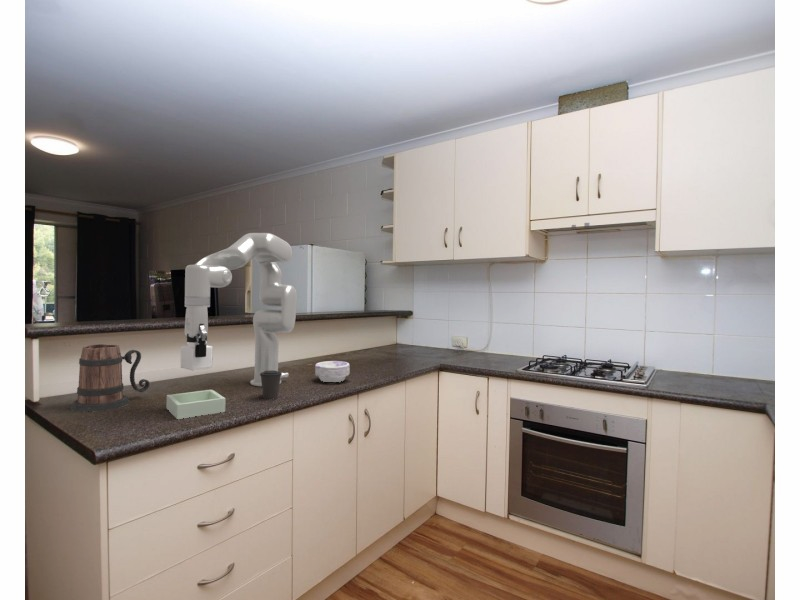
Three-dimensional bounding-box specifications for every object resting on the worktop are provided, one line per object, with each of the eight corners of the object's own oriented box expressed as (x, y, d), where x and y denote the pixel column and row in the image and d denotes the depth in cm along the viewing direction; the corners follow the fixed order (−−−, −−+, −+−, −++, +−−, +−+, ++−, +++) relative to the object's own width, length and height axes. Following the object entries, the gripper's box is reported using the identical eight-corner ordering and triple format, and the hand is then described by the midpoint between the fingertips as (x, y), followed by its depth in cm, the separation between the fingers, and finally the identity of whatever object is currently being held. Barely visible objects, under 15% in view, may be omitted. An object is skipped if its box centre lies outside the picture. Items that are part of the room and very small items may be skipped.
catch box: (211, 402, 152) (211, 389, 152) (225, 411, 141) (225, 398, 141) (166, 408, 143) (166, 395, 143) (177, 419, 132) (177, 405, 132)
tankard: (79, 415, 133) (79, 351, 133) (62, 405, 143) (62, 345, 143) (158, 401, 152) (159, 344, 151) (138, 392, 162) (139, 340, 161)
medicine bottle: (212, 367, 143) (213, 331, 142) (192, 370, 137) (193, 333, 136) (200, 364, 147) (200, 329, 146) (180, 367, 141) (180, 331, 140)
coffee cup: (258, 395, 163) (258, 369, 162) (280, 394, 166) (280, 368, 165) (260, 401, 155) (260, 373, 155) (283, 399, 158) (283, 372, 158)
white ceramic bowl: (307, 382, 188) (308, 364, 188) (328, 376, 202) (329, 359, 202) (335, 386, 181) (336, 368, 181) (355, 380, 195) (356, 362, 195)
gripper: (178, 301, 145) (177, 352, 146) (192, 303, 132) (191, 359, 133) (201, 301, 150) (201, 350, 151) (217, 303, 137) (216, 357, 137)
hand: (196, 354), depth 142 cm, fingers closed on medicine bottle, 8 cm apart
